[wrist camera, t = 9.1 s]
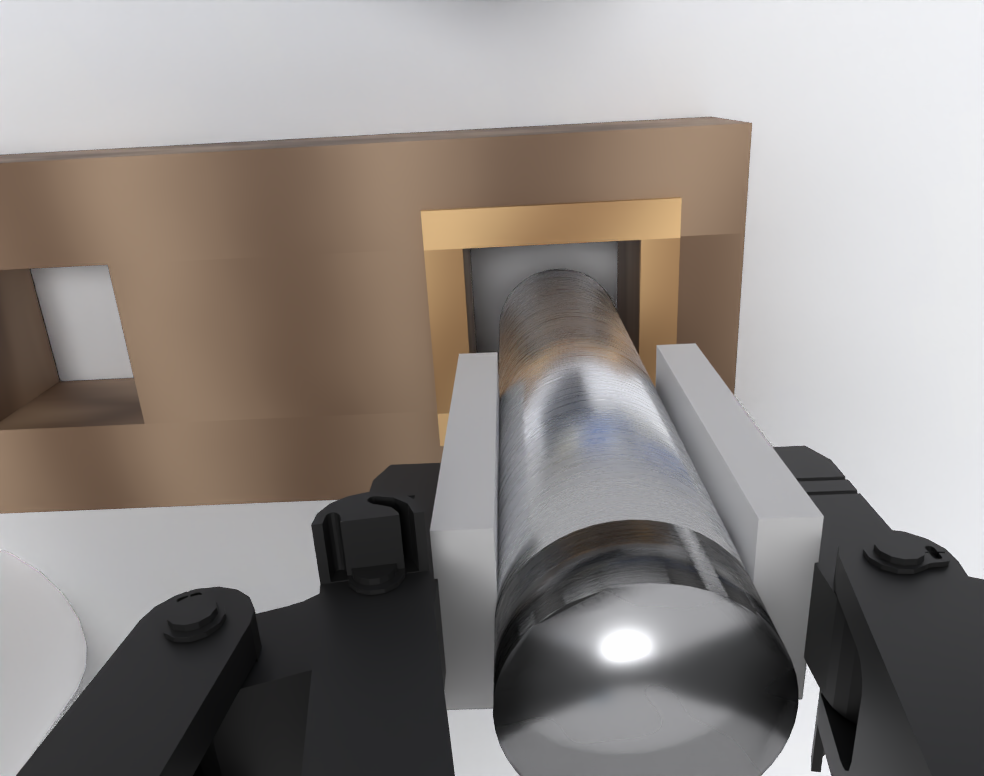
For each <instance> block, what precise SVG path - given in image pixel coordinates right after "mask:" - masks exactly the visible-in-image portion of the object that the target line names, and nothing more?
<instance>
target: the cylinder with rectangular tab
mask: <svg viewBox="0 0 984 776" xmlns="http://www.w3.org/2000/svg"><path fill="white" fill-rule="evenodd" d="M86 650H87V644H86V640H85V637H84V634H83V630H82V627H81V624H80V620H79V618H78V617H77V615H76V613H75V612H74V610H73V609H72V607H71V605H70V604H69V602H68V601H67V599H66V597H65V596H64V594H63V593H62V592H61V591H60V590H59V589H58V588H57V587H56V586H55V585H54V584H53V583H51V582H50V581H49V580H48V579H47V578H46V577H45V576H44V575H43V574H42V573H41V572H40V571H38V570H37V569H35V568H34V567H32V566H31V565H29V564H27V563H26V562H24V561H23V560H21V559H20V558H18V557H17V556H15V555H14V554H11V553H9V552H6V551H4V550H1V549H0V776H16V775H17V773H18V772H19V771H20V770H21V768H22V767H23V766H24V765H25V763H26V762H27V761H28V760H29V758H30V757H31V755H32V754H33V752H34V751H35V750H36V748H37V747H38V745H39V744H40V742H41V741H42V740H43V738H44V737H45V735H46V734H47V732H48V731H49V729H50V728H51V727H52V725H53V724H54V722H55V721H56V719H57V718H58V717H59V715H60V714H61V712H62V711H63V709H64V708H65V707H66V705H67V704H68V702H69V701H70V699H71V698H72V697H73V695H74V694H75V692H76V691H77V689H78V687H79V685H80V682H81V680H82V677H83V674H84V672H85V669H86Z"/></svg>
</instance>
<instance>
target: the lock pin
mask: <svg viewBox="0 0 984 776" xmlns="http://www.w3.org/2000/svg"><path fill="white" fill-rule="evenodd" d="M499 394H500V414H499V495H498V576H497V601H496V606H495V630H494V690H493V718H494V725H495V731H496V734H497V737H498V740H499V743H500V746H501V748H502V750H503V752H504V754H505V756H506V758H507V759H508V761H509V762H510V764H511V765H512V766H513V768H514V769H515V771H516V772H517V773H518V774H519V775H520V776H761V775H762V774H763V773H764V772H765V771H766V770H767V769H768V768H769V767H770V766H771V765H772V763H773V762H774V761H775V759H776V758H777V757H778V755H779V754H780V753H781V751H782V749H783V748H784V746H785V744H786V742H787V740H788V739H789V737H790V734H791V731H792V729H793V726H794V723H795V719H796V714H797V709H798V694H799V690H798V683H797V675H796V672H795V669H794V666H793V663H792V660H791V658H790V656H789V654H788V652H787V650H786V648H785V646H784V644H783V642H782V640H781V638H780V636H779V634H778V632H777V630H776V628H775V626H774V624H773V622H772V620H771V618H770V616H769V614H768V612H767V610H766V608H765V606H764V604H763V602H762V600H761V598H760V596H759V594H758V592H757V590H756V588H755V586H754V584H753V582H752V580H751V578H750V576H749V574H748V572H747V570H746V568H745V566H744V564H743V562H742V560H741V558H740V556H739V554H738V552H737V550H736V548H735V546H734V544H733V542H732V540H731V538H730V536H729V534H728V532H727V530H726V528H725V526H724V524H723V522H722V520H721V518H720V516H719V514H718V512H717V510H716V508H715V506H714V504H713V502H712V500H711V498H710V496H709V494H708V492H707V490H706V488H705V486H704V484H703V482H702V480H701V478H700V476H699V474H698V472H697V470H696V468H695V466H694V464H693V462H692V460H691V458H690V456H689V454H688V452H687V450H686V448H685V446H684V444H683V442H682V440H681V438H680V436H679V434H678V432H677V430H676V428H675V426H674V424H673V422H672V420H671V418H670V416H669V414H668V412H667V410H666V408H665V406H664V404H663V402H662V400H661V398H660V396H659V394H658V392H657V390H656V388H655V386H654V384H653V382H652V380H651V378H650V376H649V375H648V373H647V371H646V369H645V367H644V365H643V363H642V361H641V359H640V357H639V355H638V353H637V351H636V349H635V347H634V345H633V343H632V341H631V339H630V337H629V335H628V333H627V331H626V329H625V327H624V325H623V323H622V321H621V319H620V317H619V315H618V313H617V311H616V309H615V307H614V305H613V303H612V301H611V299H610V297H609V295H608V294H607V292H606V291H605V290H604V289H603V288H602V287H601V285H600V284H598V283H597V282H596V281H595V280H593V279H592V278H590V277H588V276H587V275H584V274H582V273H580V272H576V271H573V270H566V269H554V270H547V271H543V272H540V273H537V274H535V275H533V276H531V277H529V278H527V279H526V280H524V281H523V282H521V283H520V284H519V285H518V286H517V287H516V288H515V289H514V290H513V291H512V293H511V294H510V295H509V297H508V298H507V300H506V302H505V304H504V306H503V309H502V313H501V317H500V330H499Z"/></svg>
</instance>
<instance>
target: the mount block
mask: <svg viewBox="0 0 984 776" xmlns="http://www.w3.org/2000/svg"><path fill="white" fill-rule="evenodd" d="M751 131H752V123H749V122H742V121H736V120H729V119H722V118H716V117H697V118H678V119H660V120H641V121H622V122H604V123H585V124H566V125H548V126H529V127H510V128H492V129H473V130H454V131H436V132H417V133H398V134H380V135H361V136H342V137H324V138H305V139H286V140H268V141H249V142H230V143H212V144H193V145H174V146H156V147H137V148H118V149H100V150H81V151H62V152H44V153H25V154H6V155H0V513H25V512H49V511H73V510H98V509H122V508H147V507H171V506H195V505H220V504H244V503H269V502H293V501H317V500H340V499H342V498H345V497H347V496H351V495H356V494H361V493H365V492H369V491H370V488H371V485H372V482H373V480H374V479H375V478H376V477H377V476H378V475H379V474H381V473H382V472H383V471H384V470H385V469H386V468H387V467H388V466H390V465H396V464H421V463H441V460H442V454H443V448H444V442H445V436H446V430H447V424H448V418H449V412H450V406H451V400H452V394H453V388H454V382H455V375H456V369H457V363H458V357H459V354H467V353H477V352H476V336H475V320H474V303H473V287H472V271H471V255H470V248H485V247H506V246H526V245H546V244H566V243H587V242H607V241H618V276H617V313H618V315H619V317H620V319H621V321H622V323H623V325H624V327H625V329H626V331H627V333H628V335H629V337H630V339H631V341H632V343H633V345H634V347H635V349H636V351H637V353H638V355H639V357H640V359H641V361H642V363H643V365H644V367H645V369H646V371H647V373H648V375H649V376H650V378H651V380H652V382H653V384H654V386H655V387H656V349H657V345H670V344H693V343H696V345H697V346H698V347H699V349H700V350H701V351H702V353H703V354H704V356H705V357H706V358H707V360H708V361H709V362H710V364H711V365H712V366H713V368H714V369H715V370H716V372H717V373H718V374H719V376H720V377H721V378H722V380H723V381H724V382H725V384H726V385H727V387H728V388H729V389H730V391H731V392H732V393H733V395H734V388H735V373H736V358H737V343H738V328H739V313H740V298H741V283H742V267H743V252H744V237H745V222H746V207H747V192H748V177H749V161H750V146H751ZM92 265H108V268H109V273H110V277H111V281H112V286H113V290H114V294H115V298H116V303H117V307H118V311H119V316H120V320H121V324H122V329H123V333H124V337H125V341H126V346H127V350H128V354H129V359H130V363H131V367H132V372H133V376H134V378H124V379H102V380H80V381H60V380H59V376H58V373H57V369H56V365H55V362H54V358H53V354H52V350H51V347H50V343H49V339H48V336H47V332H46V328H45V325H44V321H43V317H42V313H41V310H40V306H39V302H38V299H37V295H36V291H35V288H34V284H33V280H32V276H31V273H30V269H31V268H52V267H72V266H92ZM498 375H499V361H498Z"/></svg>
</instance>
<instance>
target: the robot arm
mask: <svg viewBox="0 0 984 776" xmlns="http://www.w3.org/2000/svg"><path fill="white" fill-rule="evenodd" d="M655 388H656V390H657V392H658V394H659V396H660V398H661V400H662V402H663V404H664V406H665V408H666V410H667V412H668V414H669V416H670V418H671V420H672V422H673V424H674V426H675V428H676V430H677V432H678V434H679V436H680V438H681V440H682V442H683V444H684V446H685V448H686V450H687V452H688V454H689V456H690V458H691V460H692V462H693V464H694V466H695V468H696V470H697V472H698V474H699V476H700V478H701V480H702V482H703V484H704V486H705V488H706V490H707V492H708V494H709V496H710V498H711V500H712V502H713V504H714V506H715V508H716V510H717V512H718V514H719V516H720V518H721V520H722V522H723V524H724V526H725V528H726V530H727V532H728V534H729V536H730V538H731V540H732V542H733V544H734V546H735V548H736V550H737V552H738V554H739V556H740V558H741V560H742V562H743V564H744V566H745V568H746V570H747V572H748V574H749V576H750V578H751V580H752V582H753V584H754V586H755V588H756V590H757V592H758V594H759V596H760V598H761V600H762V602H763V604H764V606H765V608H766V610H767V612H768V614H769V616H770V618H771V620H772V622H773V624H774V626H775V628H776V630H777V632H778V634H779V636H780V638H781V640H782V642H783V644H784V646H785V648H786V650H787V652H788V654H789V656H790V658H791V660H792V663H793V666H794V669H795V672H796V675H797V683H798V690H799V694H798V699H802V697H803V689H804V680H805V672H806V663H807V665H808V666H809V668H810V670H811V672H812V674H813V676H814V678H815V680H816V682H817V684H818V686H819V687H820V692H819V700H818V708H817V716H816V724H815V732H814V739H813V747H812V755H811V771H815V772H821V765H822V757H823V756H824V755H826V758H827V762H828V765H829V769H830V773H831V776H984V580H983V579H978V578H973V577H968V575H967V574H966V572H965V571H964V569H963V568H962V566H961V565H960V563H959V562H958V561H957V560H956V559H955V558H954V557H953V556H952V555H951V554H950V553H949V552H948V551H947V550H946V549H945V548H943V547H941V546H939V545H937V544H935V543H934V542H932V541H930V540H928V539H926V538H922V537H919V536H916V535H913V534H910V533H907V532H902V531H894V530H891V528H890V527H889V526H888V525H887V524H886V523H885V522H884V520H883V519H882V518H881V517H880V516H879V515H878V514H877V512H876V511H875V510H874V509H873V508H872V507H871V506H870V504H869V503H868V502H867V501H866V500H865V499H864V498H863V496H862V495H861V494H857V489H856V488H855V487H854V486H853V485H852V484H851V483H850V481H849V480H845V476H844V475H843V473H842V472H841V471H840V470H839V469H838V468H837V467H836V465H835V464H834V463H833V462H832V461H831V460H830V459H828V458H826V457H825V456H823V455H821V454H819V453H817V452H815V451H814V450H812V449H810V448H808V447H806V446H789V447H772V446H771V444H770V443H769V442H768V440H767V439H766V438H765V436H764V435H763V434H762V432H761V431H760V430H759V428H758V427H757V426H756V424H755V423H754V422H753V420H752V419H751V418H750V416H749V415H748V413H747V412H746V411H745V409H744V408H743V407H742V405H741V404H740V403H739V401H738V400H737V399H736V397H735V396H734V395H733V393H732V392H731V391H730V389H729V388H728V387H727V385H726V384H725V382H724V381H723V380H722V378H721V377H720V376H719V374H718V373H717V372H716V370H715V369H714V368H713V366H712V365H711V364H710V362H709V361H708V360H707V358H706V357H705V356H704V354H703V353H702V351H701V350H700V349H699V347H698V346H697V345H696V343H693V344H670V345H657V349H656V387H655ZM499 414H500V394H499V375H498V355H497V352H490V353H467V354H459V357H458V363H457V369H456V375H455V382H454V388H453V394H452V400H451V406H450V412H449V418H448V424H447V430H446V436H445V442H444V448H443V454H442V460H441V463H421V464H396V465H390V466H388V467H387V468H386V469H385V470H384V471H383V472H382V473H381V474H379V475H378V476H377V477H376V478H375V479H374V480H373V482H372V485H371V488H370V491H369V492H365V493H361V494H356V495H351V496H347V497H345V498H342V499H340V500H338V501H335V502H333V503H331V504H329V505H328V506H326V507H325V508H324V509H323V510H321V511H320V512H319V513H318V514H317V515H316V517H315V519H314V521H313V523H312V525H311V526H312V532H313V539H314V545H315V551H316V558H317V564H318V571H319V577H320V584H321V585H320V593H319V594H318V595H316V596H314V597H312V598H309V599H307V600H305V601H303V602H300V603H296V604H293V605H290V606H287V607H283V608H279V609H274V610H270V611H266V612H262V613H258V614H255V609H254V607H253V604H252V602H251V599H250V597H249V596H247V595H245V594H244V593H242V592H240V591H239V590H236V589H230V588H223V587H212V588H201V589H195V590H191V591H189V592H184V593H182V594H179V595H176V596H174V597H172V598H170V599H169V600H167V601H165V602H163V603H161V604H159V605H157V606H156V607H154V608H153V609H152V610H151V611H150V612H149V613H148V614H147V615H145V616H144V617H143V618H142V619H141V620H140V621H139V622H138V624H137V625H136V626H135V627H134V629H133V630H132V631H131V632H130V634H129V635H128V636H127V637H126V639H125V640H124V641H123V642H122V644H121V645H120V646H119V647H118V649H117V650H116V651H115V652H114V654H113V655H112V656H111V657H110V659H109V660H108V661H107V662H106V664H105V665H104V666H103V667H102V669H101V670H100V671H99V672H98V674H97V675H96V676H95V677H94V679H93V680H92V681H91V682H90V684H89V685H88V686H87V687H86V689H85V690H84V691H83V692H82V694H81V695H80V696H79V697H78V699H77V700H76V701H75V702H74V704H73V705H72V706H71V707H70V709H69V710H68V711H67V712H66V714H65V715H64V716H63V717H62V719H61V720H60V721H59V722H58V723H57V725H56V726H55V727H54V728H53V730H52V731H51V732H50V733H49V735H48V736H47V737H46V738H45V740H44V741H43V742H42V743H41V745H40V746H39V747H38V748H37V750H36V751H35V752H34V753H33V755H32V756H31V757H30V758H29V760H28V761H27V762H26V763H25V765H24V766H23V767H22V768H21V770H20V771H19V772H18V773H17V775H16V776H455V774H454V765H453V757H452V749H451V741H450V733H449V725H448V717H447V710H459V709H493V690H494V630H495V606H496V601H497V576H498V495H499ZM444 690H445V692H444Z"/></svg>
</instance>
